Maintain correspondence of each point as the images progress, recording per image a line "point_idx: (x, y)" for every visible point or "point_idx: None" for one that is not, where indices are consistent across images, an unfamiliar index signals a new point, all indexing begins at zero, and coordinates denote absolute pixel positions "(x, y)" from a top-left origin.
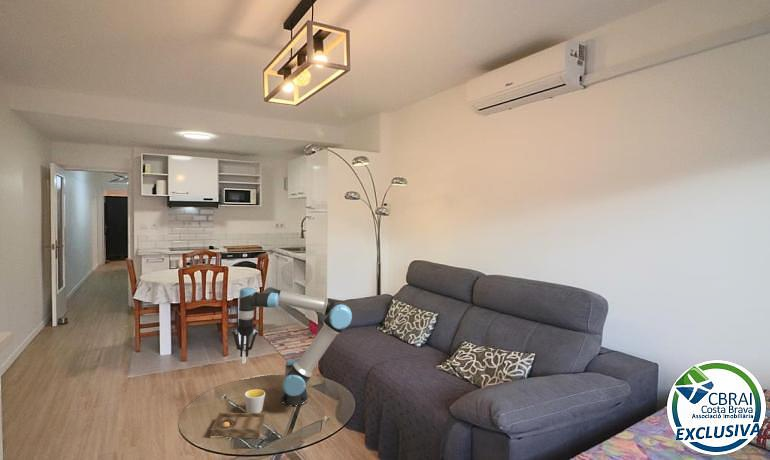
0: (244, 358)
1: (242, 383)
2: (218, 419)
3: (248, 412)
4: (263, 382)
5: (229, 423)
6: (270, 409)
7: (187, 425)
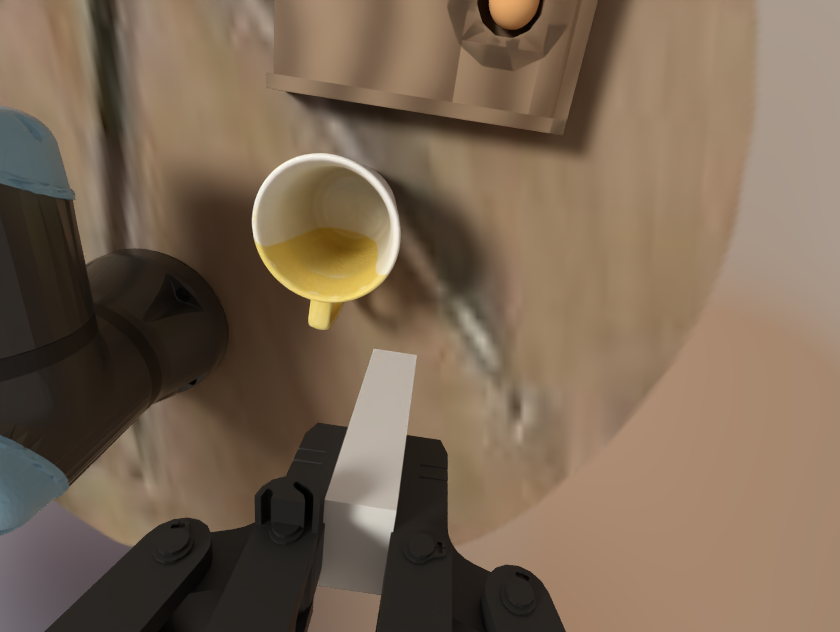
0: (370, 396)
1: None
2: (569, 46)
3: (382, 177)
4: None
5: (493, 2)
6: None
7: (737, 103)
